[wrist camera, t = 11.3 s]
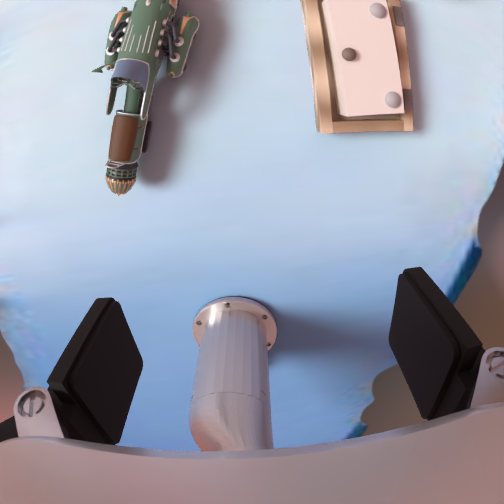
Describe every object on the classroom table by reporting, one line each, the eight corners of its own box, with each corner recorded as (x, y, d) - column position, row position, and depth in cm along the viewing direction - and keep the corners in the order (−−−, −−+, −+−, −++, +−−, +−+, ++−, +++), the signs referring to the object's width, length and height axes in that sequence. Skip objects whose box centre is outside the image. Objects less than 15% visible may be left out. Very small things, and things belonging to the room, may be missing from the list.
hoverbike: (211, -3, 27) (201, -27, 20) (163, 195, 38) (143, 221, 31) (134, -10, 26) (107, -30, 18) (95, 180, 37) (63, 203, 30)
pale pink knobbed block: (318, 6, 27) (327, -4, 23) (372, 6, 26) (387, -3, 22) (337, 113, 33) (349, 117, 29) (389, 110, 32) (406, 113, 28)
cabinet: (402, 127, 34) (414, 131, 31) (316, 130, 34) (322, 134, 32) (387, -6, 26) (398, -12, 23) (298, -10, 26) (302, -19, 23)
